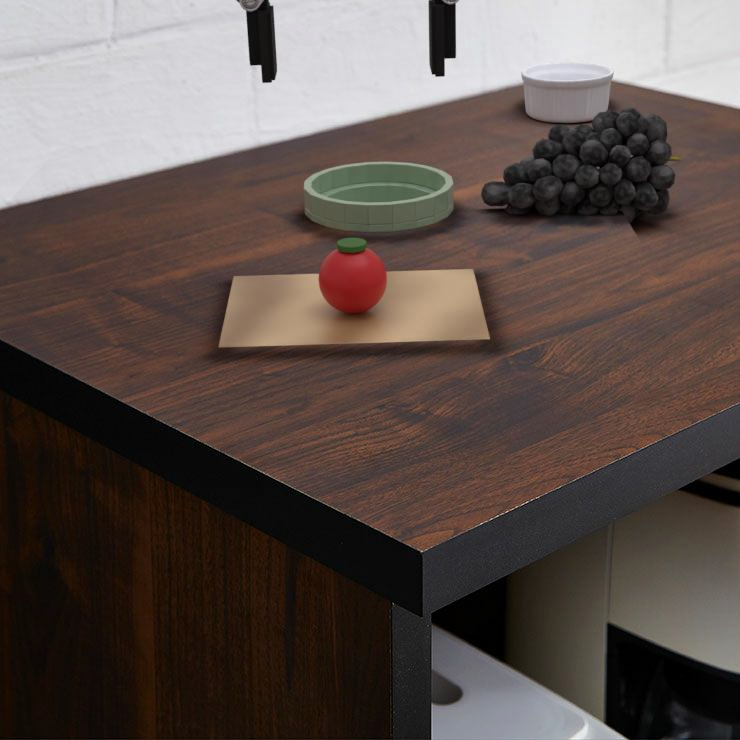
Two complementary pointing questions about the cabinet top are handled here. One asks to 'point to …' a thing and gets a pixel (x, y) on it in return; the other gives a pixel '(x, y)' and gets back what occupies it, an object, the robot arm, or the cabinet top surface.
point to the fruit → (592, 169)
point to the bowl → (378, 196)
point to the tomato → (352, 277)
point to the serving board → (377, 325)
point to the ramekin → (566, 91)
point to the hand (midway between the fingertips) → (353, 74)
